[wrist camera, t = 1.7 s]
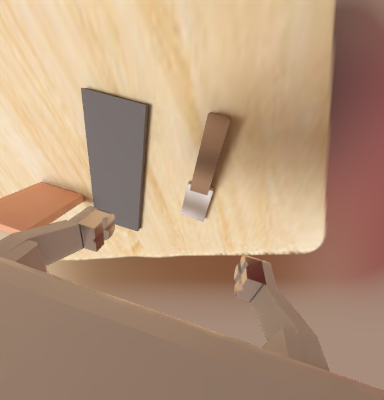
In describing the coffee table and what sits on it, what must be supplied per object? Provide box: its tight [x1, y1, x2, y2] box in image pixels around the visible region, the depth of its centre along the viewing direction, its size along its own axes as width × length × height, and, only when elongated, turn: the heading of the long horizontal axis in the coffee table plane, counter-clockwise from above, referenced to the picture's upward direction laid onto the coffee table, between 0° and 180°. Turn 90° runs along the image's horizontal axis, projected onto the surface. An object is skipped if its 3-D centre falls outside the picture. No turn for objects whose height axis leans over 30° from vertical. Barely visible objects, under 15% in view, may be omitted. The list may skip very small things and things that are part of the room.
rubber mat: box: [81, 88, 149, 231], centre depth 28 cm, size 22×9×1 cm, turn 167°
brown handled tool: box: [181, 113, 231, 221], centre depth 24 cm, size 16×4×3 cm, turn 167°
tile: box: [0, 182, 84, 234], centre depth 29 cm, size 2×9×11 cm, turn 77°
